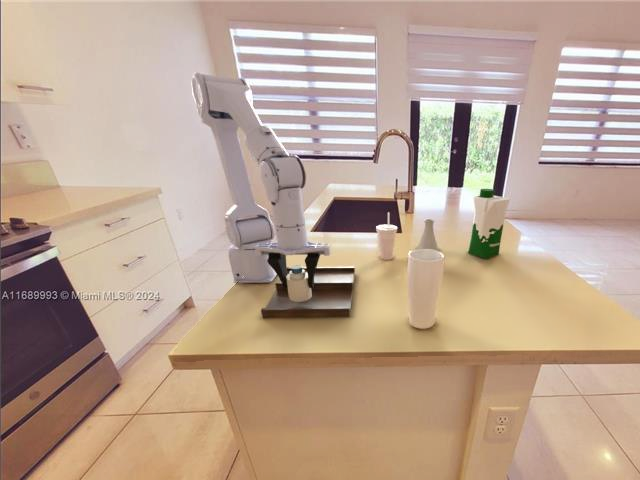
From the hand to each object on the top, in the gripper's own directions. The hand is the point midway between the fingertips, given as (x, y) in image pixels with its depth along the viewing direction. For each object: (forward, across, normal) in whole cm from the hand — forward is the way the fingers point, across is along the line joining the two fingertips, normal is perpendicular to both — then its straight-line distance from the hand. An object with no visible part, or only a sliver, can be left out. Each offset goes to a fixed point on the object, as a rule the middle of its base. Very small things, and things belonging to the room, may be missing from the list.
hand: (298, 286), depth 68 cm
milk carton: (+5, +52, +33) cm, 62 cm away
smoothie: (+5, +20, +30) cm, 36 cm away
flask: (+5, +34, +37) cm, 51 cm away
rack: (+5, +2, +6) cm, 8 cm away
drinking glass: (+5, +26, -8) cm, 28 cm away
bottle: (+3, 0, 0) cm, 3 cm away
